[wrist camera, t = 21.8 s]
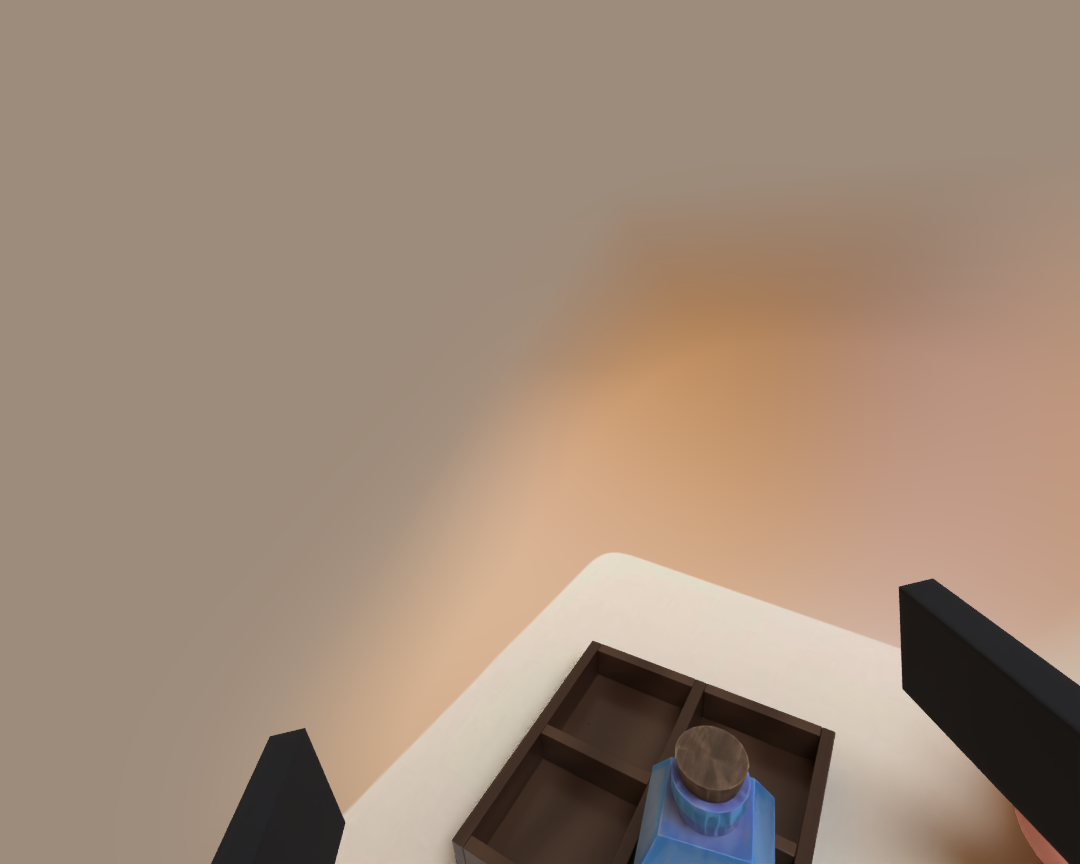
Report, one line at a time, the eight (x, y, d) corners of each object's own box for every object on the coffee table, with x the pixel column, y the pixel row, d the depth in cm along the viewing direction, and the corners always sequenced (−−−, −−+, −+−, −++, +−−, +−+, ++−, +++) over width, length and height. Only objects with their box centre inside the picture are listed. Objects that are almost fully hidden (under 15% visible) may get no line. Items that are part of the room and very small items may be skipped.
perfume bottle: (763, 1011, 27) (788, 848, 22) (630, 960, 29) (627, 801, 24) (764, 872, 32) (785, 715, 28) (652, 837, 34) (653, 687, 30)
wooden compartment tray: (458, 872, 34) (451, 839, 33) (593, 668, 47) (592, 640, 46) (770, 1088, 25) (776, 1054, 24) (829, 763, 39) (835, 731, 37)
